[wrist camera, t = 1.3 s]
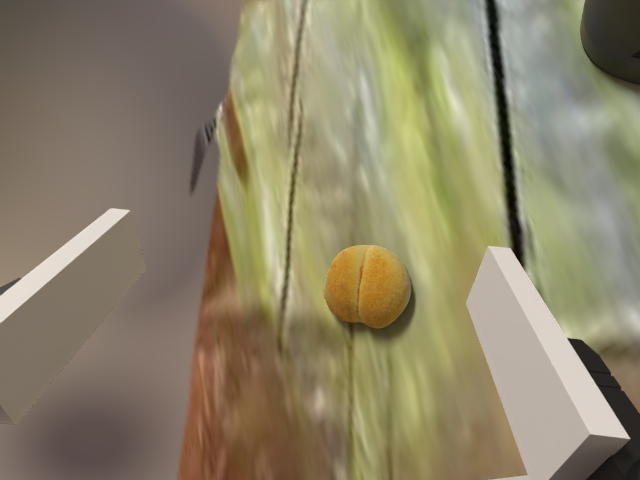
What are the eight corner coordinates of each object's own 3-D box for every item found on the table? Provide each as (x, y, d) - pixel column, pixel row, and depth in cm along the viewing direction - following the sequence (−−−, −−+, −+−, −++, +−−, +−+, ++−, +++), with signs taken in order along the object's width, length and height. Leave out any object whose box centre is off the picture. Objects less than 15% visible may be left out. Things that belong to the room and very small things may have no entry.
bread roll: (407, 335, 34) (394, 333, 31) (327, 316, 39) (308, 313, 35) (420, 252, 35) (409, 242, 32) (341, 244, 40) (325, 234, 37)
